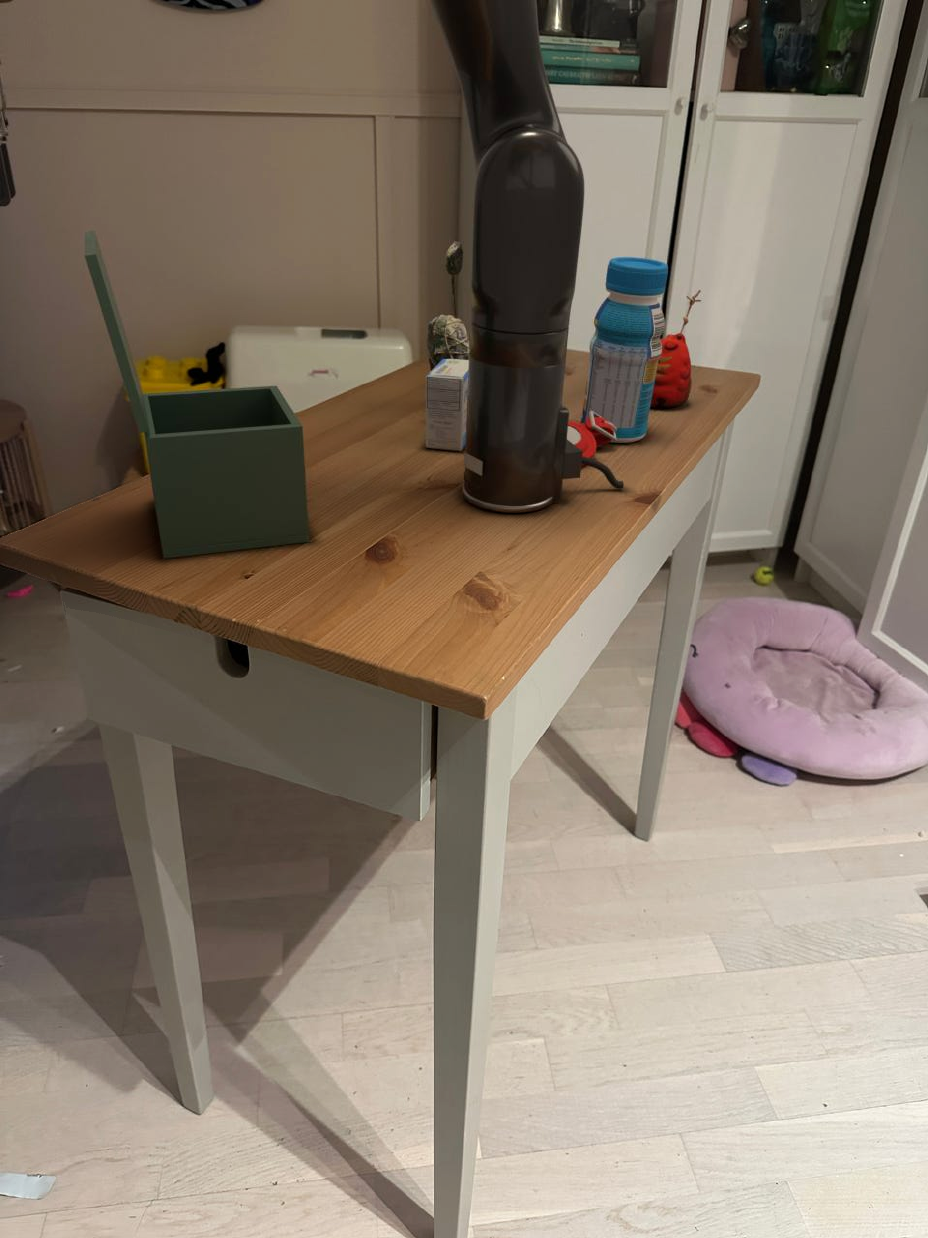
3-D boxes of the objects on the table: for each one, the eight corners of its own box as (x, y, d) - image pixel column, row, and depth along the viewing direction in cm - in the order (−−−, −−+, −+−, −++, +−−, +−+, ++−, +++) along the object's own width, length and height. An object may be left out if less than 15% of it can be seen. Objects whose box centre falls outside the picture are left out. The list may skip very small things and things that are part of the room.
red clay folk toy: (634, 393, 126) (649, 282, 118) (684, 396, 125) (703, 285, 118) (638, 409, 119) (654, 292, 112) (691, 412, 119) (711, 295, 111)
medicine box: (461, 452, 102) (464, 377, 98) (424, 448, 103) (425, 373, 98) (474, 431, 109) (478, 360, 104) (439, 428, 109) (441, 356, 105)
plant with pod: (405, 411, 115) (406, 245, 104) (454, 392, 123) (459, 236, 113) (457, 424, 111) (463, 253, 101) (504, 403, 119) (514, 243, 109)
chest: (284, 490, 90) (276, 385, 85) (309, 542, 80) (302, 425, 75) (154, 503, 86) (138, 393, 81) (163, 559, 76) (145, 437, 71)
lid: (94, 230, 73) (84, 231, 73) (95, 253, 63) (84, 255, 63) (141, 387, 81) (132, 389, 80) (149, 431, 71) (139, 433, 70)
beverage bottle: (594, 446, 105) (619, 268, 95) (568, 422, 112) (589, 254, 102) (658, 443, 107) (690, 269, 97) (629, 420, 114) (656, 255, 104)
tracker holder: (581, 466, 96) (503, 428, 99) (572, 497, 99) (497, 459, 102) (629, 415, 103) (555, 381, 106) (619, 446, 107) (548, 412, 109)
